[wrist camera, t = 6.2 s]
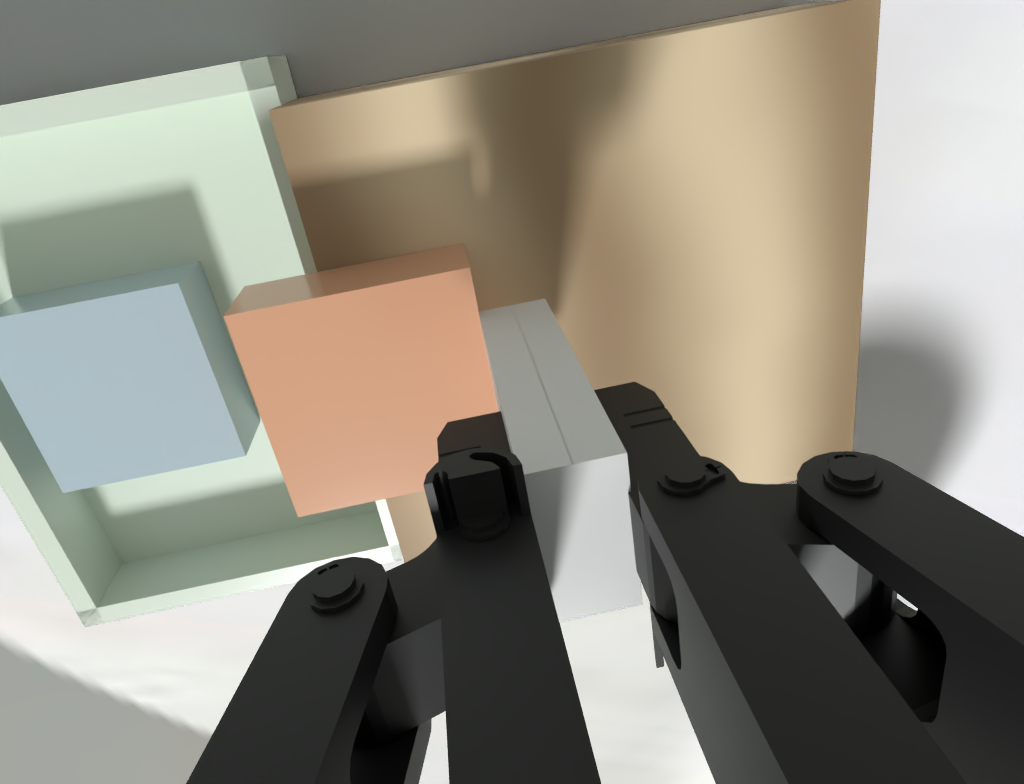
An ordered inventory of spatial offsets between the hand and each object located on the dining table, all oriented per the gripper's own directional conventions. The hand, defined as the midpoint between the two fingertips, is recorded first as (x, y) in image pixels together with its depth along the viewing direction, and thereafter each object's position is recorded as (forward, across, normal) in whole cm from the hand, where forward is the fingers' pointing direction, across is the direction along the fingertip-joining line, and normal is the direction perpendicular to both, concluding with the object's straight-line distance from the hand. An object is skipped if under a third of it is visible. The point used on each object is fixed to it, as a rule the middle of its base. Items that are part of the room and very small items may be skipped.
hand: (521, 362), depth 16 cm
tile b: (+3, +10, 0) cm, 11 cm away
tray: (+6, +9, 0) cm, 11 cm away
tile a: (+2, +3, 0) cm, 4 cm away
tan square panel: (+6, -2, 0) cm, 6 cm away
